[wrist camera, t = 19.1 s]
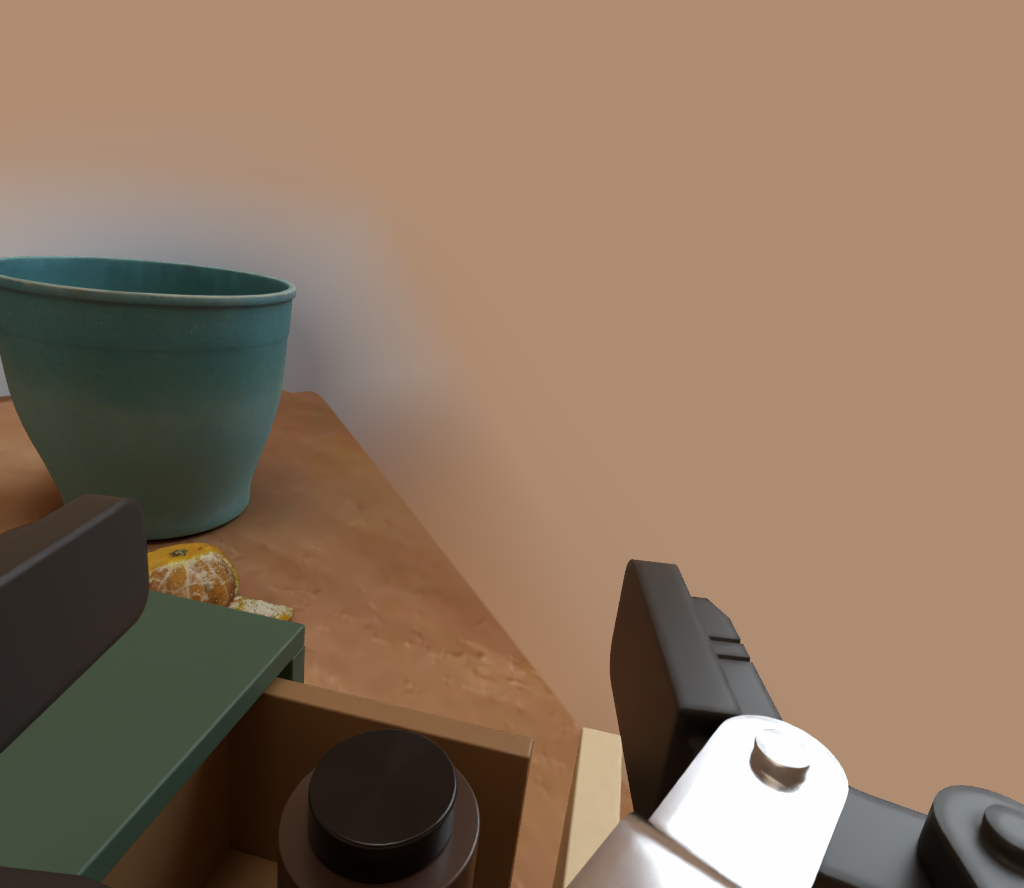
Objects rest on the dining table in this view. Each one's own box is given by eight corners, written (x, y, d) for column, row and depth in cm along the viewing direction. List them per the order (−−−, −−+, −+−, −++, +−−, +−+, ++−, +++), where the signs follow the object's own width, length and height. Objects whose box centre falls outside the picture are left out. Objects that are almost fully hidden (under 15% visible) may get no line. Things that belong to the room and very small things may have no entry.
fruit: (153, 691, 30) (149, 623, 29) (75, 617, 35) (69, 556, 33) (303, 621, 37) (304, 563, 36) (221, 566, 41) (220, 514, 40)
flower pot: (312, 551, 44) (319, 300, 39) (-20, 587, 36) (-68, 276, 31) (275, 460, 59) (276, 270, 54) (34, 471, 51) (9, 248, 46)
